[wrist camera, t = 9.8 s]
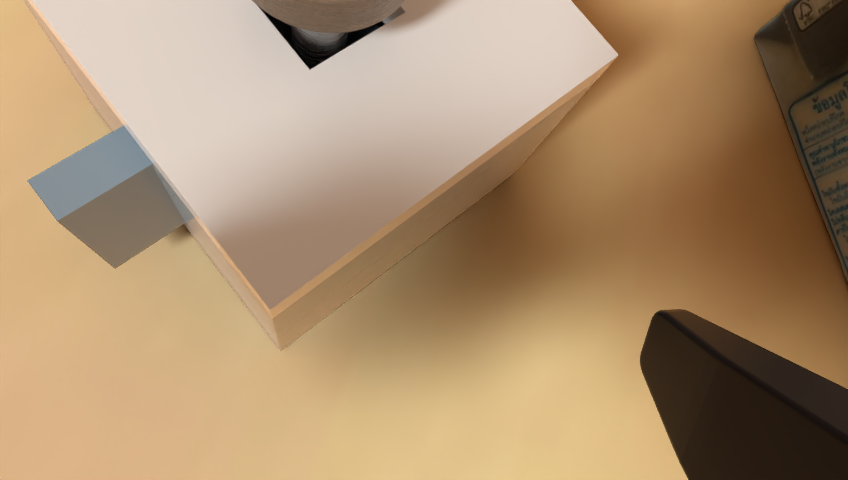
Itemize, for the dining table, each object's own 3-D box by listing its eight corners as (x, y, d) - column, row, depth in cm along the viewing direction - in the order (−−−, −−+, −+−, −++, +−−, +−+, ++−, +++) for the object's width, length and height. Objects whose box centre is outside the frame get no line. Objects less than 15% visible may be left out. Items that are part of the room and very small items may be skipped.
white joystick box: (513, 174, 20) (618, 55, 14) (218, 398, 17) (166, 385, 10) (340, -33, 21) (360, -240, 14) (25, 140, 18) (-139, -27, 11)
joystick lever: (478, 155, 19) (648, -91, 10) (288, 294, 17) (276, 146, 8) (336, -15, 20) (371, -396, 11) (135, 98, 18) (-45, -259, 8)
